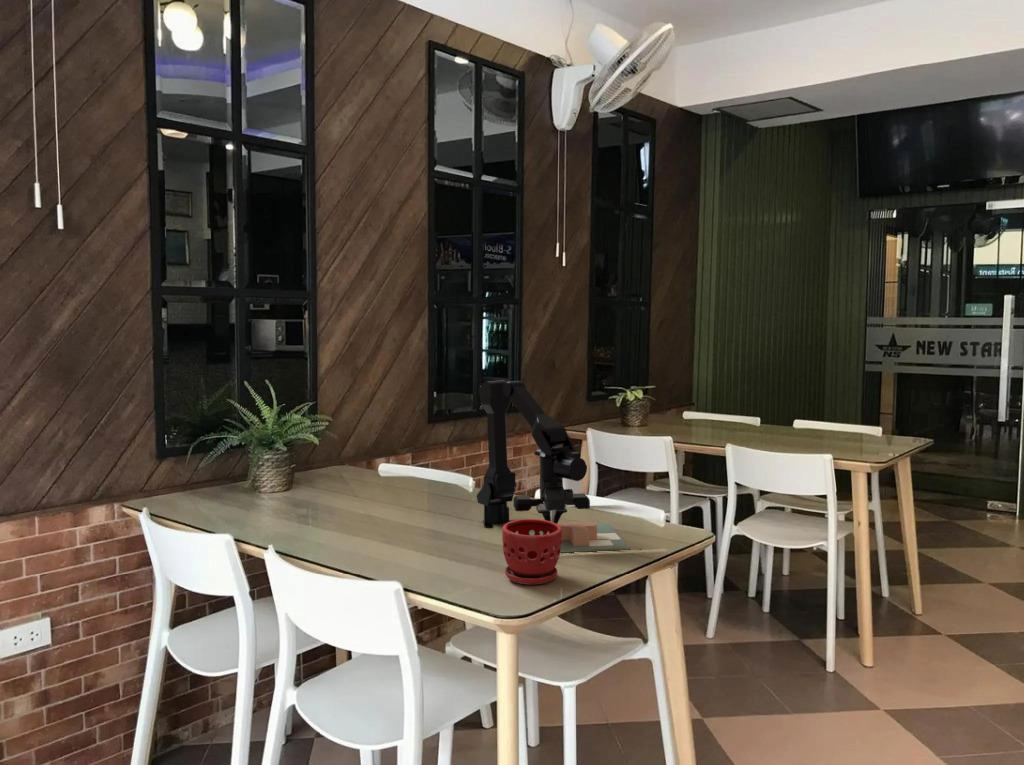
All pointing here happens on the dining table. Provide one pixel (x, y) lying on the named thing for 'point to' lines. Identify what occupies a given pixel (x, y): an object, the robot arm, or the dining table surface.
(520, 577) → the plant pot
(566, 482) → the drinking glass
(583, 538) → the salmon notched block
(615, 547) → the board
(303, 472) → the dining table surface
